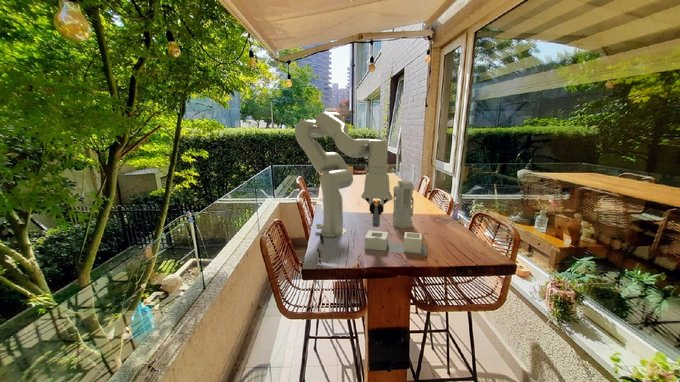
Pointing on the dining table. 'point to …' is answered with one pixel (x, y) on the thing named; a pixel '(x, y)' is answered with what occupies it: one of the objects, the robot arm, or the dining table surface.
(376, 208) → the lock pin
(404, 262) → the dining table surface
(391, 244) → the dock board
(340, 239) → the dining table surface
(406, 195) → the lantern
